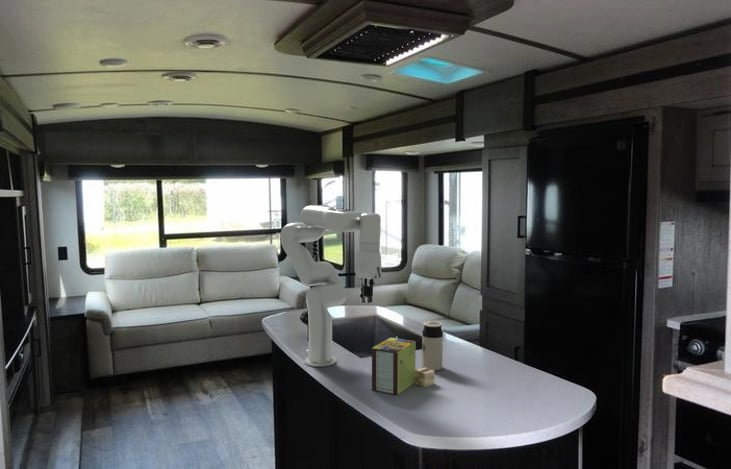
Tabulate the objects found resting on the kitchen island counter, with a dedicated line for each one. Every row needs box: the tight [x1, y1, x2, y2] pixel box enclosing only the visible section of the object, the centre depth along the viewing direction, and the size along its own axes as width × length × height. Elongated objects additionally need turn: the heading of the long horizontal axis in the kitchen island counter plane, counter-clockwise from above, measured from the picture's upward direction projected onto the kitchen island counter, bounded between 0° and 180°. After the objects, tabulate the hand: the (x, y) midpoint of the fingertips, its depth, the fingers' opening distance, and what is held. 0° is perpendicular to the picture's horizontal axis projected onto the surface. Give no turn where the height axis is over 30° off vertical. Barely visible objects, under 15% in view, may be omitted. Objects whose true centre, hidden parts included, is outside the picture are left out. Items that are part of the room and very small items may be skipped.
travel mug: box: [421, 320, 444, 372], centre depth 217 cm, size 8×8×18 cm
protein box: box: [371, 337, 417, 396], centre depth 197 cm, size 10×15×16 cm
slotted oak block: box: [414, 367, 436, 388], centre depth 200 cm, size 5×5×5 cm
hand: (368, 296), depth 203 cm, fingers closed
